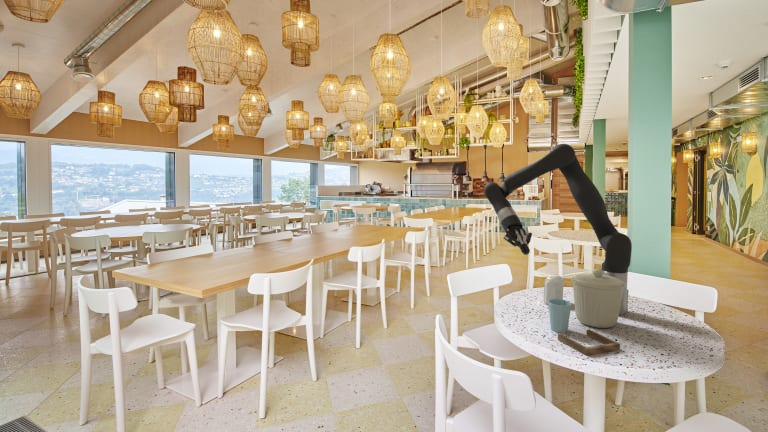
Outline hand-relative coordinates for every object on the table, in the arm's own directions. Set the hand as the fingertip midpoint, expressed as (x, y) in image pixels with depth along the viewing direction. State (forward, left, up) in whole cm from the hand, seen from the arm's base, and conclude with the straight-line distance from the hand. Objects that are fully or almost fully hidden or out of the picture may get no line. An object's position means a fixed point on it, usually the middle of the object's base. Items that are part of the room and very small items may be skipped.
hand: (527, 253), depth 146 cm
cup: (-3, +15, -26) cm, 30 cm away
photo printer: (-23, -11, -26) cm, 37 cm away
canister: (-21, +14, -26) cm, 36 cm away
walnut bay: (-3, +27, -26) cm, 38 cm away
